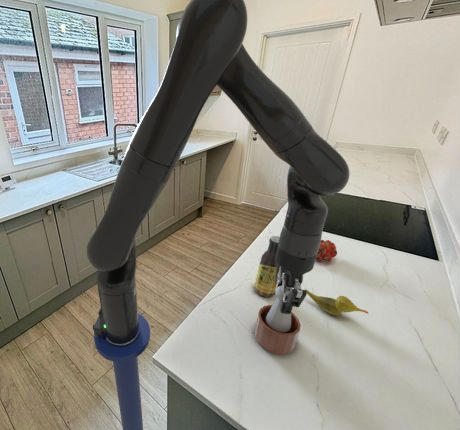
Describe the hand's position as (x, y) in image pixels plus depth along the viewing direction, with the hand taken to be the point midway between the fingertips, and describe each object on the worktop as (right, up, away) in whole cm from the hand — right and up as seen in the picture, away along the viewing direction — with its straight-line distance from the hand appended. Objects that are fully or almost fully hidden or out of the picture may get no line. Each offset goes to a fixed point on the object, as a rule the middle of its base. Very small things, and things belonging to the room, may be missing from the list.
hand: (282, 304), depth 64 cm
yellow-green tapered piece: (+20, -7, +13) cm, 25 cm away
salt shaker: (0, -8, +4) cm, 8 cm away
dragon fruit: (+33, +5, +36) cm, 49 cm away
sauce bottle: (+5, -3, +21) cm, 22 cm away
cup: (0, -11, +5) cm, 12 cm away
